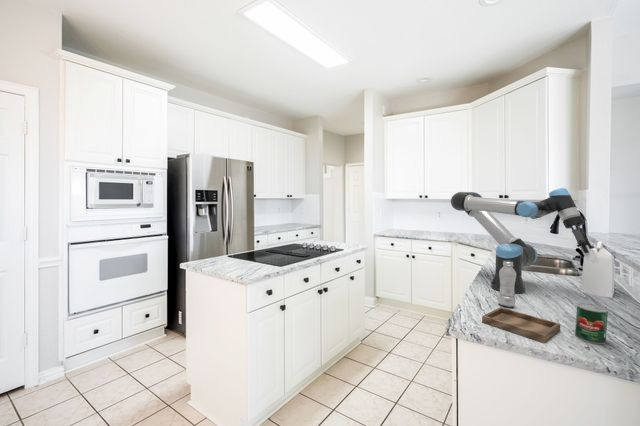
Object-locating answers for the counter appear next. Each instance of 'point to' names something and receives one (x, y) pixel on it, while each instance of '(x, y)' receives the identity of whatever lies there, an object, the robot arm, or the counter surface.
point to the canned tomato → (591, 323)
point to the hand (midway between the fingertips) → (593, 261)
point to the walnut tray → (522, 324)
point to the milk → (599, 273)
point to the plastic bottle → (507, 284)
